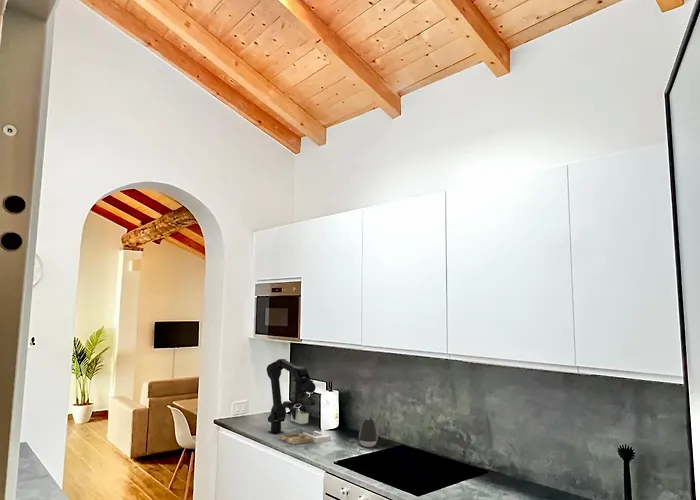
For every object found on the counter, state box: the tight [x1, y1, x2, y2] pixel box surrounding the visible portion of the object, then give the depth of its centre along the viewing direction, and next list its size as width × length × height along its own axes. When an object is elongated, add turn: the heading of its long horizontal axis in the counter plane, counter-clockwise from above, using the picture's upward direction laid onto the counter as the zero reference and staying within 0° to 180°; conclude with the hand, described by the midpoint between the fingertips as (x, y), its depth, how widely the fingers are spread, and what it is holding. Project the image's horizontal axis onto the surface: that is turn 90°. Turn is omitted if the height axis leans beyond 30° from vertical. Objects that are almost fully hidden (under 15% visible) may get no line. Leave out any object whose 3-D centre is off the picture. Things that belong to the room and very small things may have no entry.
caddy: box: [290, 406, 309, 425], centre depth 287 cm, size 12×5×7 cm, turn 39°
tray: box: [278, 432, 313, 446], centre depth 284 cm, size 14×12×2 cm
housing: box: [301, 430, 332, 444], centre depth 289 cm, size 14×10×2 cm
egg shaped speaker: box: [358, 416, 379, 448], centre depth 279 cm, size 10×10×15 cm
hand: (298, 419), depth 287 cm, fingers closed on caddy, 5 cm apart
